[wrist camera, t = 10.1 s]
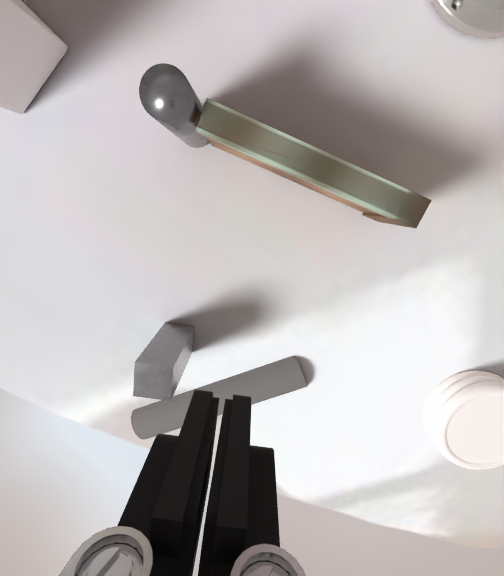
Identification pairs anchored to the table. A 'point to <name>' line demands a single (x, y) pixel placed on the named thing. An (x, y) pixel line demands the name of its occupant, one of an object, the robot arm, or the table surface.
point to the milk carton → (25, 55)
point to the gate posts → (183, 123)
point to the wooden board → (310, 166)
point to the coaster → (468, 419)
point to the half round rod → (221, 396)
